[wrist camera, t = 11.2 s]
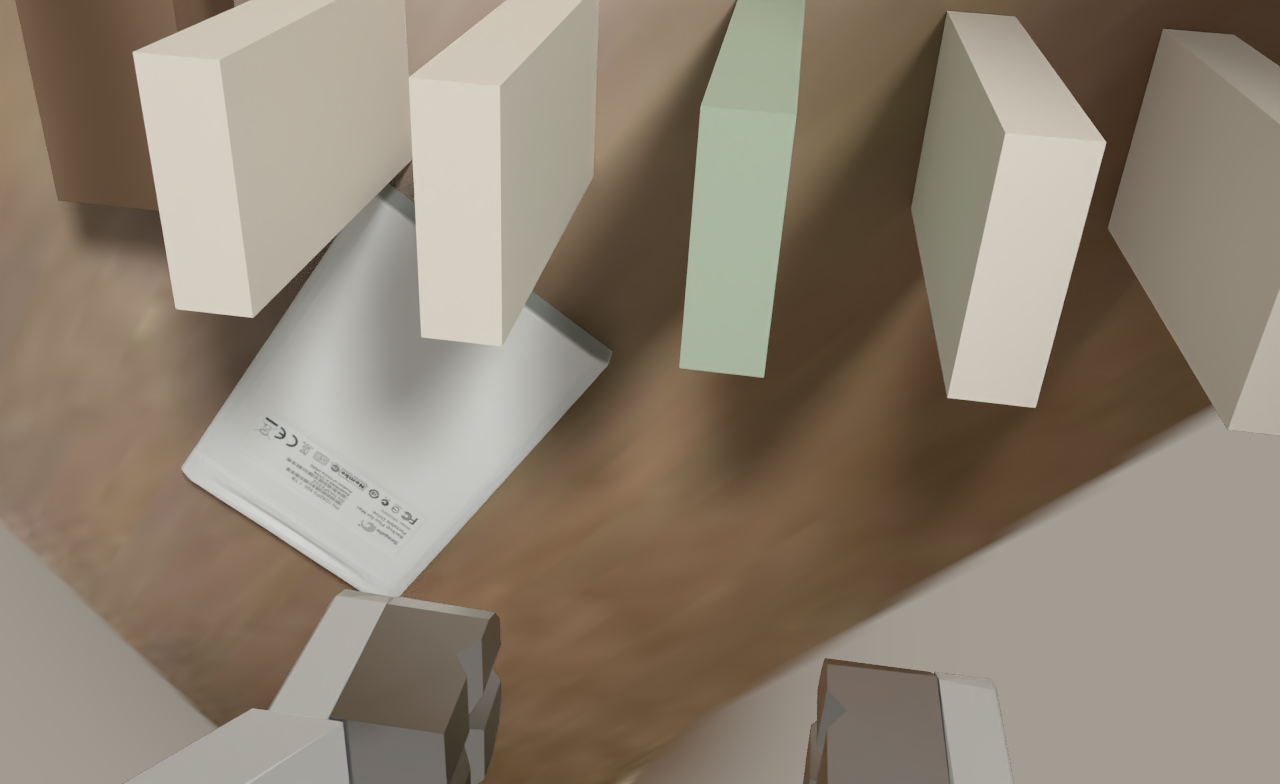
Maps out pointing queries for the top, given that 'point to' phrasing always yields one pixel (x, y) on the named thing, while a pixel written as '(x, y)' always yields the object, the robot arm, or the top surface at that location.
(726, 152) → the green domino
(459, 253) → the domino
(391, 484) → the external hard drive
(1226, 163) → the domino
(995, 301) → the domino
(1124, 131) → the top surface
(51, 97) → the block
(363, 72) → the domino
